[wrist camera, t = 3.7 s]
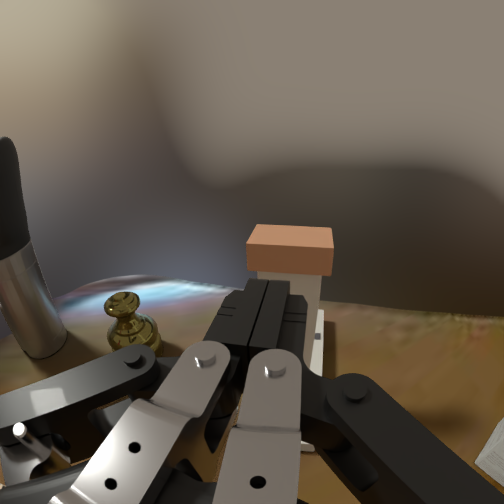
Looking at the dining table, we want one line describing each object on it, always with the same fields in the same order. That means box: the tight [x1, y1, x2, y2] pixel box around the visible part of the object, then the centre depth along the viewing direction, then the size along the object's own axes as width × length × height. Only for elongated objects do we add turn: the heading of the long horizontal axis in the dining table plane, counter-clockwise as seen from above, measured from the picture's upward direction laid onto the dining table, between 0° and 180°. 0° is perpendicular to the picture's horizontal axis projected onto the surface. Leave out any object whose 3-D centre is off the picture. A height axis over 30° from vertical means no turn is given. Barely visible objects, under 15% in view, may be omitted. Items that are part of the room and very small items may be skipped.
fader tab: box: [246, 224, 334, 369], centre depth 23 cm, size 6×4×18 cm, turn 78°
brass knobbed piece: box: [104, 292, 163, 358], centre depth 33 cm, size 7×7×10 cm
